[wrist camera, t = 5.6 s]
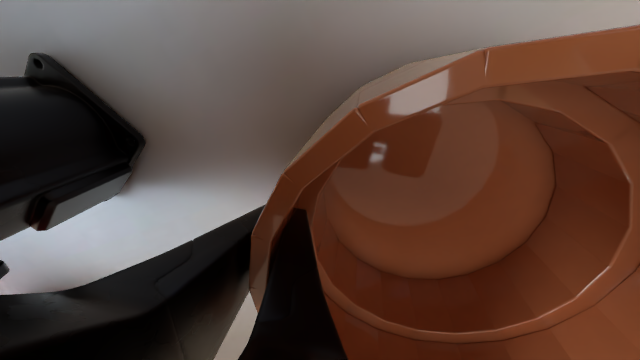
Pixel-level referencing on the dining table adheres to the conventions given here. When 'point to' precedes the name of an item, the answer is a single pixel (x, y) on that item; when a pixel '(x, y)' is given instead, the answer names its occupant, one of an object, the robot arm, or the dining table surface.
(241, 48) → the dining table surface
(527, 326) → the bowl
